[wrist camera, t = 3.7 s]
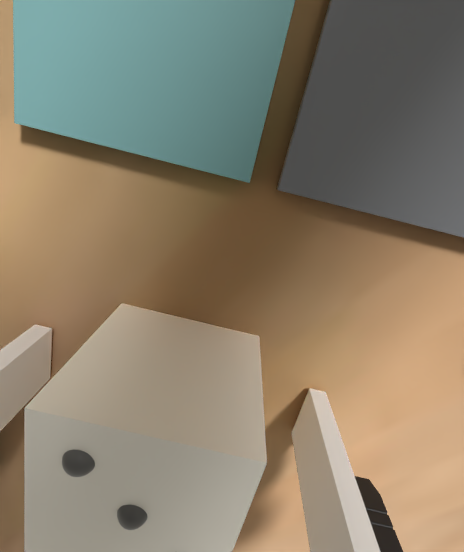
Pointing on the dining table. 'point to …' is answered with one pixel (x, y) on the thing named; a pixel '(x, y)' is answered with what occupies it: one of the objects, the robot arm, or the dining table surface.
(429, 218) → the tile
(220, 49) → the tile
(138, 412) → the die
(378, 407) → the dining table surface
